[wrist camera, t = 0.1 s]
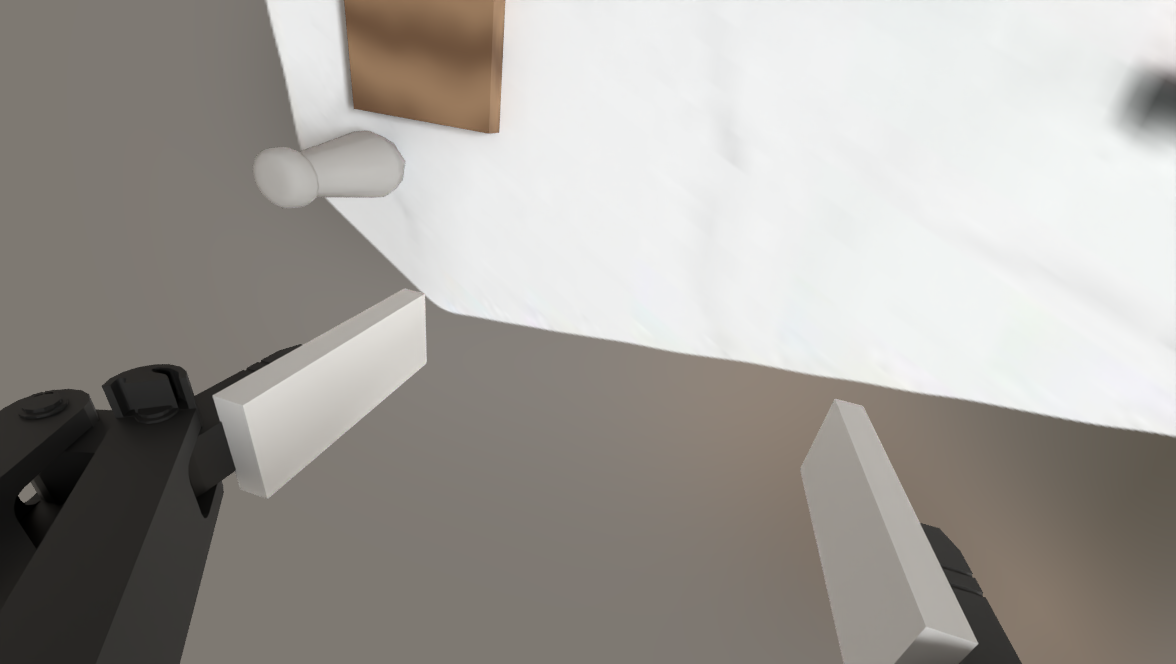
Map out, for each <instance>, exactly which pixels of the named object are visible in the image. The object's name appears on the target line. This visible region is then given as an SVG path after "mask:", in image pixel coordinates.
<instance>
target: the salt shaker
mask: <svg viewBox="0 0 1176 664" xmlns="http://www.w3.org/2000/svg"><path fill="white" fill-rule="evenodd" d="M404 167H405V160H404V158H403V157H402V155H401V154H400V152H399V151H398V149H397V147H396V146H395V144H394V143H392V142H391V141H389V140H387V139H386V138H384V137H382V136H380V135H378V134H375V133H373V132H370V131H356V132H352V133H349V134H346V135H344V136H341V137H338V138H335V139H333V140H330V141H327V142H325V143H322V144H319V145H316V146H314V147H311V148H308V149H305V150H303V151H300V152H298V151H295V150H293V149H291V148H288V147H276V148H267V149H264V150H262V151H261V152H260V153H259V154H258V155H257V156H256V157H255V162H254V166H253V173H254V178H255V182H256V184H257V186H258V188H259V190H260V192H261V193H262V194H263V195H264V196H265V197H266V198H267V199H268V200H269V201H270V202H272V203H273V204H275V205H277V206H279V207H282V208H297V207H303V206H306V205H308V204H309V203H310V202H312V201H313V200H314V199H315V198H316V197H384V196H386V195H388V194H389V193H391V192H392V191H393V190H395V189H396V188H397V186H398V185H399V184H400V183H401V181H402V180H403V174H404Z"/></svg>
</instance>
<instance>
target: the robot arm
mask: <svg viewBox="0 0 1176 664" xmlns="http://www.w3.org/2000/svg"><path fill="white" fill-rule="evenodd" d="M425 320H426V318H425V294H424V293H420V292H417V291H412V290H409V289H403V290H401V291H399V292H397V293H395V294H394V295H392V296H390V297H388V298H387V299H385V300H383V301H381V302H379V303H377V304H376V305H374V306H373V307H370V308H369V309H367V310H365V311H363V312H362V313H360V314H358V315H356V316H354V317H352V318H351V319H349V320H347V321H345V322H343V323H342V324H340V325H338V326H336V327H335V328H333V329H331V330H329V331H327V332H326V333H324V334H322V335H320V336H318V337H317V338H315V339H313V340H311V341H309V342H307V343H306V344H304V345H301V344H300V345H296V346H293V347H289V348H286V349H283V350H280V351H277V352H275V353H274V354H272V355H270V356H268V357H266V358H264V359H263V360H261V362H260V363H259V362H257V363H255V364H253V365H251V366H250V367H248V368H247V370H246V371H245V370H242V371H240V372H238V373H237V374H235V375H233V376H231V377H229V378H227V379H225V380H224V381H222V382H220V383H218V384H216V385H214V386H213V387H211V388H209V389H207V390H205V391H203V392H201V393H200V394H198V395H196V396H194V393H193V391H192V387H191V384H190V381H189V378H188V375H187V372H186V371H185V370H184V369H183V368H181V367H179V366H174V365H170V364H162V365H159V364H158V365H149V366H143V367H138V368H135V369H131V370H128V371H125V372H122V373H120V374H118V375H116V376H114V377H112V378H110V379H109V380H108V381H107V382H106V383H105V384H104V385H102V388H103V390H104V392H105V394H106V397H107V399H108V401H109V404H110V406H111V408H112V410H96V409H95V407H94V405H93V403H92V401H91V398H90V396H89V394H87V393H85V392H84V391H81V390H73V389H64V390H51V391H45V392H41V393H37V394H33V395H31V396H29V397H27V398H24V399H21V400H18V401H16V402H14V403H12V404H11V405H9V406H7V407H5V408H3V409H2V410H1V411H0V664H180V660H181V656H182V652H183V649H184V645H185V641H186V637H187V633H188V629H189V625H190V621H191V618H192V614H193V610H194V606H195V602H196V598H197V594H198V590H199V586H200V582H201V579H202V575H203V571H204V567H205V563H206V559H207V555H208V551H209V548H210V543H211V540H212V536H213V532H214V528H215V524H216V520H217V516H218V512H219V509H220V504H221V500H222V497H223V493H224V491H223V484H222V480H223V479H224V478H226V477H227V476H229V475H230V474H231V473H233V472H234V471H235V473H236V477H237V480H238V483H239V486H240V489H241V490H244V491H247V492H250V493H252V494H255V495H258V496H261V497H263V498H266V499H268V498H269V497H270V496H272V495H273V494H274V493H275V492H276V491H277V490H279V489H280V488H281V487H282V486H283V485H284V484H286V483H287V482H288V481H289V480H290V479H291V478H293V477H294V476H295V475H296V474H297V473H298V472H300V471H301V470H302V469H303V468H304V467H306V466H307V465H308V464H309V463H310V462H311V461H312V460H314V459H315V458H316V457H317V456H318V455H320V454H321V453H322V452H323V451H324V450H325V449H326V448H328V447H329V446H330V445H331V444H332V443H333V442H335V441H336V440H337V439H338V438H339V437H341V436H342V435H343V434H344V433H345V432H346V431H348V430H349V429H350V428H351V427H352V426H353V425H355V424H356V423H357V422H358V421H359V420H361V419H362V418H363V417H364V416H365V415H366V414H368V413H369V412H370V411H371V410H372V409H373V408H375V407H376V406H377V405H378V404H379V403H380V402H382V401H383V400H384V399H385V398H386V397H387V396H389V395H390V394H391V393H392V392H393V391H394V390H396V389H397V388H398V387H399V386H400V385H402V384H403V383H404V382H405V381H406V380H407V379H408V378H410V377H411V376H412V375H413V374H414V373H416V372H417V371H418V370H419V369H420V368H421V367H423V366H424V365H425V364H426V363H427V358H426V321H425ZM800 470H801V475H802V479H803V484H804V488H805V493H806V497H807V502H808V506H809V510H810V515H811V520H812V524H813V528H814V533H815V537H816V542H817V546H818V550H819V555H820V559H821V564H822V568H823V573H824V577H825V582H826V586H827V591H828V596H829V600H830V604H831V609H832V613H833V618H834V622H835V627H836V631H837V635H838V640H839V645H840V649H841V654H842V658H843V662H844V664H1022V663H1021V661H1020V660H1019V658H1018V656H1017V654H1016V652H1015V650H1014V649H1013V647H1012V645H1011V643H1010V641H1009V639H1008V637H1007V636H1006V634H1005V632H1004V630H1003V628H1002V627H1001V625H1000V623H999V621H998V619H997V617H996V616H995V614H994V612H993V610H992V608H991V606H990V605H989V603H988V601H987V599H986V598H985V597H983V596H982V594H983V592H982V590H981V588H980V587H979V584H978V583H977V581H976V579H975V578H973V577H972V574H973V573H972V572H971V570H970V568H969V566H968V564H967V563H966V561H965V559H964V557H963V555H962V553H961V552H960V550H959V549H958V548H957V547H956V546H955V545H954V544H953V543H952V542H951V540H950V539H949V538H948V537H947V536H946V535H945V534H944V533H943V532H942V531H941V530H940V529H939V528H936V527H932V526H929V525H926V524H922V523H920V522H919V520H918V519H917V516H916V514H915V512H914V510H913V508H912V506H911V504H910V502H909V500H908V498H907V496H906V494H905V491H904V490H903V488H902V485H901V483H900V481H899V479H898V478H897V475H896V473H895V471H894V469H893V467H892V465H891V463H890V461H889V459H888V457H887V454H886V453H885V450H884V449H883V446H882V444H881V442H880V440H879V438H878V436H877V434H876V432H875V430H874V428H873V426H872V424H871V422H870V419H869V417H868V415H867V413H866V411H865V409H864V407H863V406H861V405H857V404H853V403H849V402H845V401H842V400H838V399H835V400H834V402H833V404H832V406H831V408H830V410H829V412H828V414H827V416H826V418H825V420H824V422H823V424H822V426H821V428H820V430H819V432H818V434H817V436H816V438H815V440H814V442H813V444H812V446H811V448H810V450H809V452H808V454H807V456H806V458H805V460H804V462H803V464H802V466H801V468H800ZM30 482H31V483H32V485H33V487H34V488H35V490H36V492H37V493H36V494H35V495H34V496H33V497H32V498H31V499H30V500H28V501H27V502H25V503H23V502H22V501H21V500H20V499H19V497H18V495H19V493H20V492H21V491H22V489H23V488H24V487H25V486H26V485H27V484H28V483H30Z"/></svg>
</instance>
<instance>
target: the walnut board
mask: <svg viewBox="0 0 1176 664" xmlns="http://www.w3.org/2000/svg"><path fill="white" fill-rule="evenodd" d="M344 4H345V15H346V26H347V37H348V48H349V60H350V71H351V82H352V93H353V104H354V109H359V110H365V111H370V112H375V113H381V114H386V115H392V116H397V117H403V118H408V119H413V120H419V121H424V122H430V123H435V124H440V125H446V126H451V127H457V128H462V129H468V130H473V131H478V132H484V133H499V123H500V101H501V80H502V58H503V37H504V15H505V0H344Z"/></svg>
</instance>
